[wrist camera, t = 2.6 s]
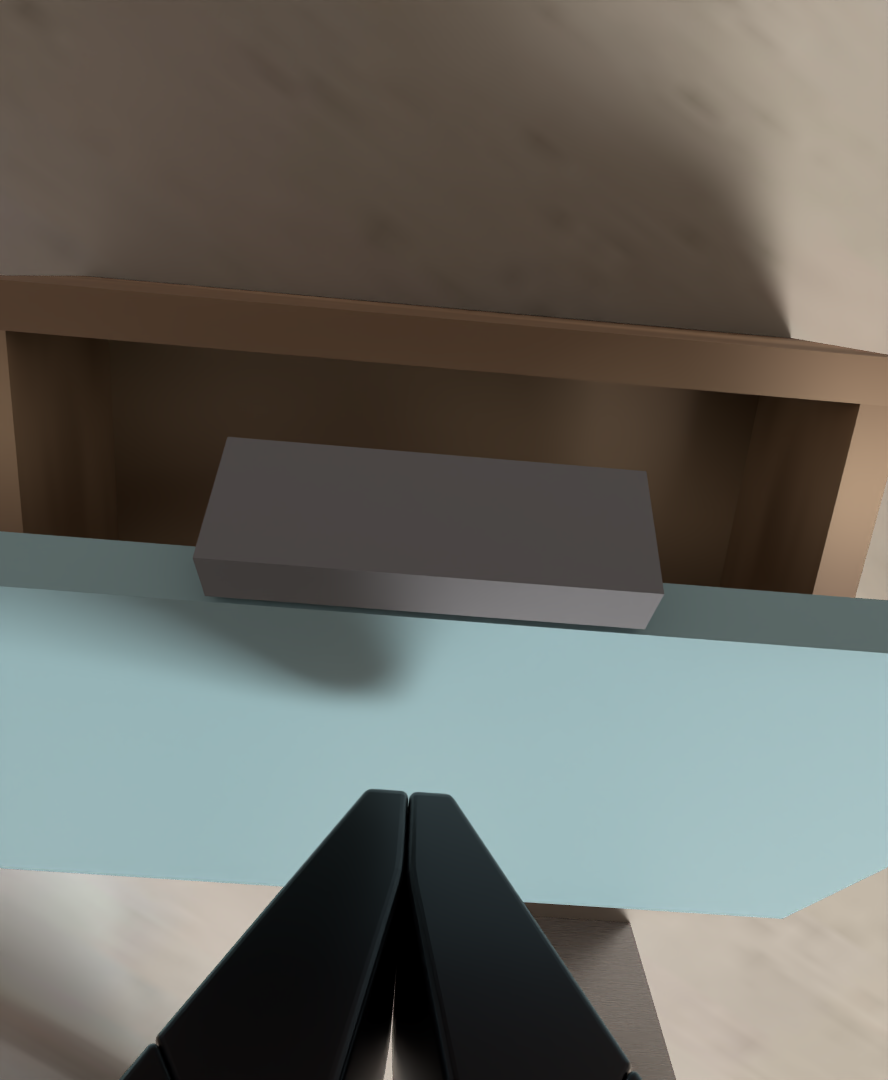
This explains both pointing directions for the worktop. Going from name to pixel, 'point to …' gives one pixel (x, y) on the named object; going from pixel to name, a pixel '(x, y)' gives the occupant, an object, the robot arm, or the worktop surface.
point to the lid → (437, 689)
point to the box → (438, 415)
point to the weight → (614, 987)
